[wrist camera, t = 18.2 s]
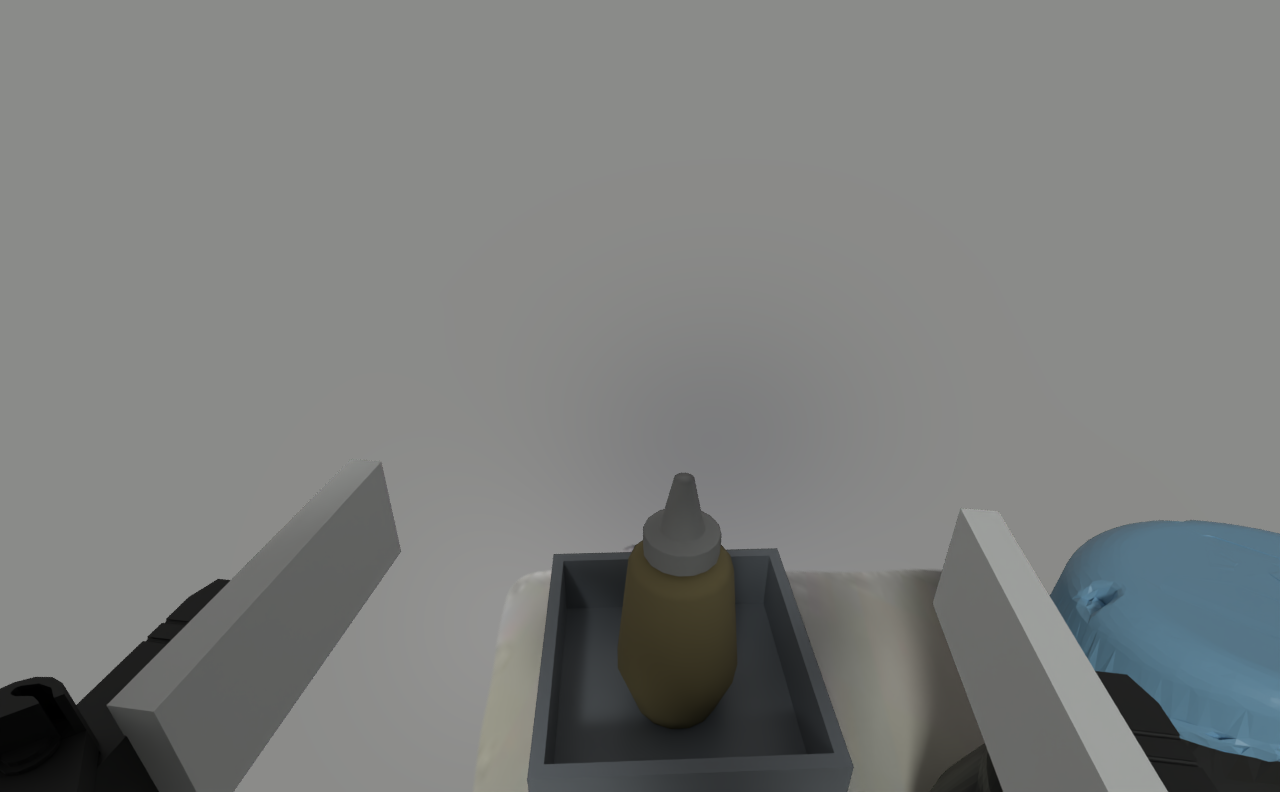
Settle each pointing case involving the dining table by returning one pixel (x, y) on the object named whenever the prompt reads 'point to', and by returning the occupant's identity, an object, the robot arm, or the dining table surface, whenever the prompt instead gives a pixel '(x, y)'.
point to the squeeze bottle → (678, 614)
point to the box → (707, 752)
